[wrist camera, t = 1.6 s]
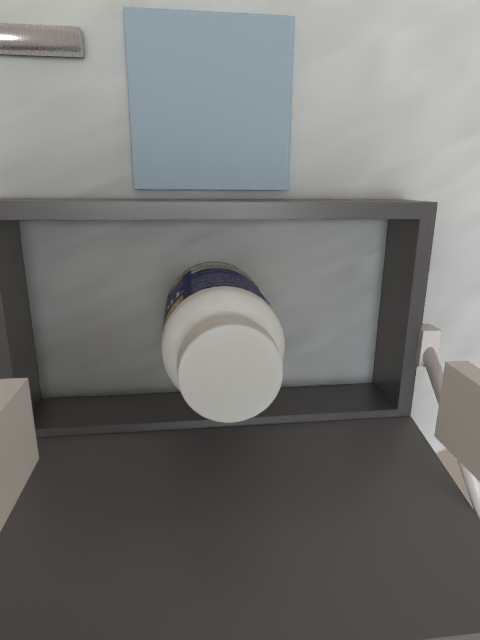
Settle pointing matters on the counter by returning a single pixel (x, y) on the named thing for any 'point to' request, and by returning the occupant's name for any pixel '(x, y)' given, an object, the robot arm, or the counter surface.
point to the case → (241, 481)
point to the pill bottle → (222, 343)
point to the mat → (209, 99)
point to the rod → (41, 40)
